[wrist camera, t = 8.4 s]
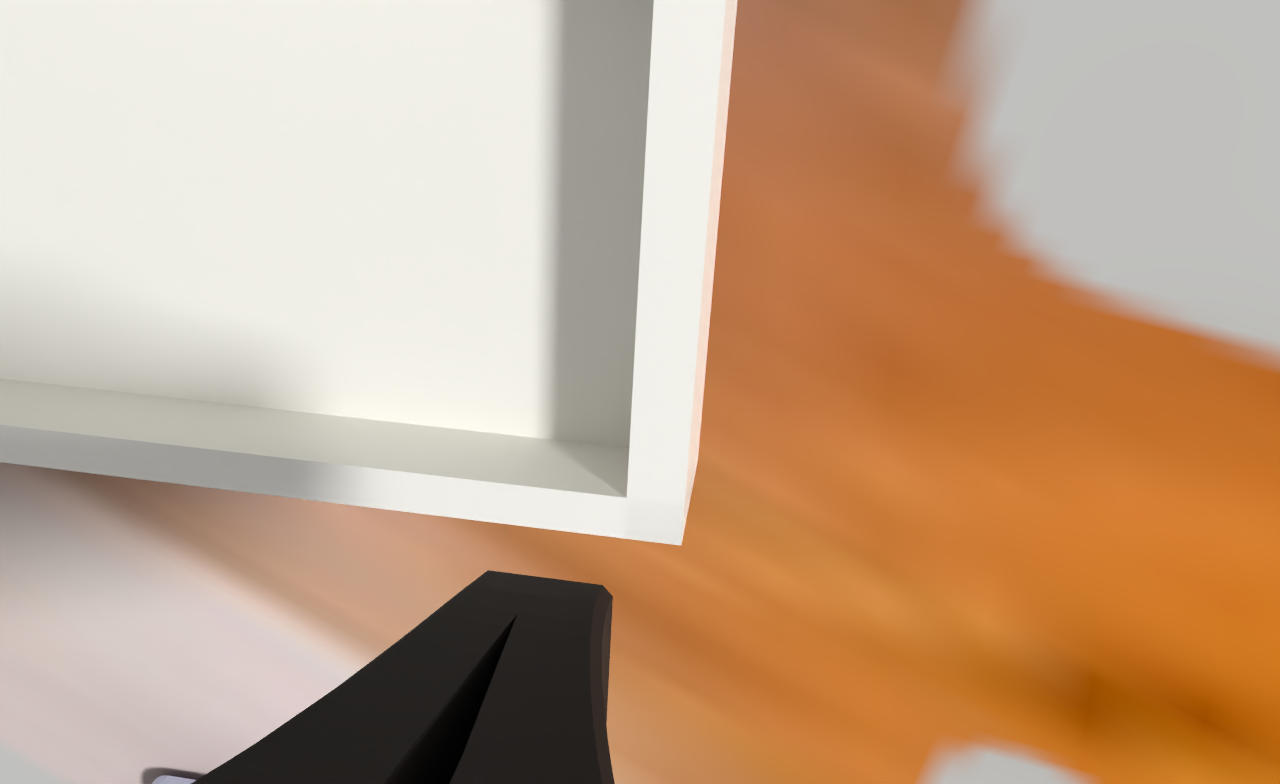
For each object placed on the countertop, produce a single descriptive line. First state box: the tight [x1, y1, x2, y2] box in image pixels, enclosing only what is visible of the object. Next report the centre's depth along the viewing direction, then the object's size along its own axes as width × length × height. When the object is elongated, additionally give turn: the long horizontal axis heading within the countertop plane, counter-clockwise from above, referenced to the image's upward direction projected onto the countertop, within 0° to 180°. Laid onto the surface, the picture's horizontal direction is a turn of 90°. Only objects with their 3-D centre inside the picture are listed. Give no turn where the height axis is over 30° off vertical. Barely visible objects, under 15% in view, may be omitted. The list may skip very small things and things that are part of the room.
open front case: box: [0, 0, 737, 545], centre depth 16 cm, size 10×17×4 cm, turn 87°
